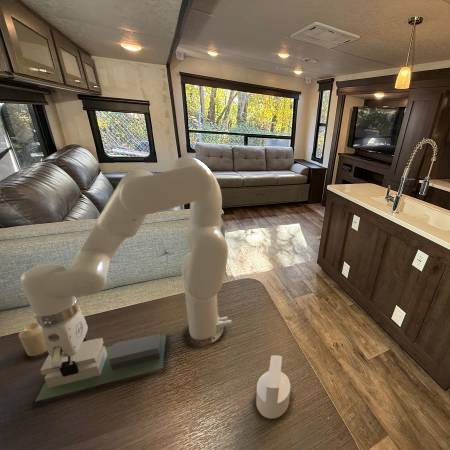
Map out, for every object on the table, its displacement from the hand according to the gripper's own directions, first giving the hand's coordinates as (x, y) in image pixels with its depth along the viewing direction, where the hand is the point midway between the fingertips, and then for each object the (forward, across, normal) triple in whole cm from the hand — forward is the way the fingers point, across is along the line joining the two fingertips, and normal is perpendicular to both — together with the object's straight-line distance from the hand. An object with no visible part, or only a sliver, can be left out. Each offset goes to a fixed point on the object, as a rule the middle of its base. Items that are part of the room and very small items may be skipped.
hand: (76, 361), depth 68 cm
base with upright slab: (+5, -25, -49) cm, 55 cm away
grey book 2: (+4, 0, -14) cm, 14 cm away
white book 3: (+4, 0, 0) cm, 4 cm away
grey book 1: (+1, 0, -14) cm, 14 cm away
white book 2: (+2, 0, 0) cm, 2 cm away
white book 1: (-1, 0, 0) cm, 1 cm away
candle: (+5, +12, +13) cm, 18 cm away
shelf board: (+5, 0, -7) cm, 9 cm away
